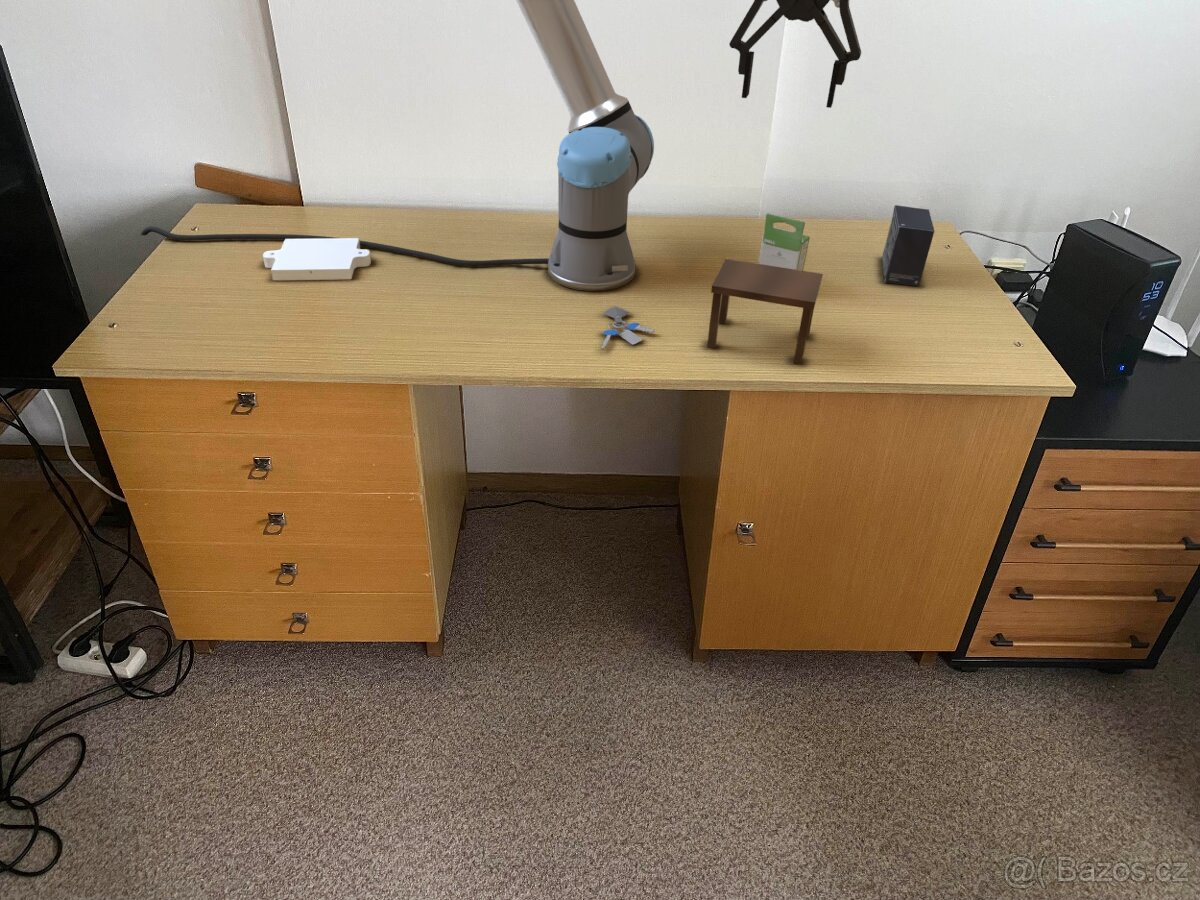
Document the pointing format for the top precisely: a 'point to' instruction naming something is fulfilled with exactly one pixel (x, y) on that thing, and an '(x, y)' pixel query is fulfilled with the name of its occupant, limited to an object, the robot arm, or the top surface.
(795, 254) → the ink box
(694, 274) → the top surface
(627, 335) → the key chain
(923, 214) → the small box
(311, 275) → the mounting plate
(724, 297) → the side table
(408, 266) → the top surface
